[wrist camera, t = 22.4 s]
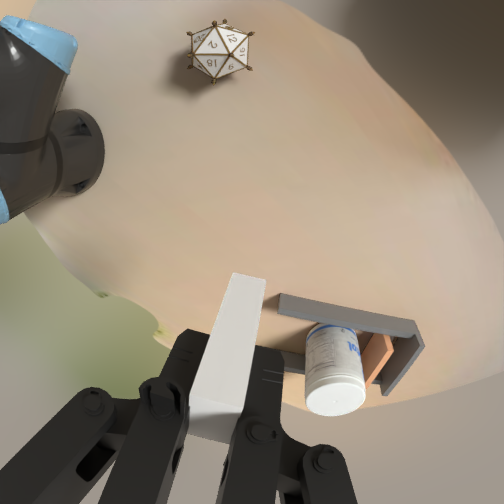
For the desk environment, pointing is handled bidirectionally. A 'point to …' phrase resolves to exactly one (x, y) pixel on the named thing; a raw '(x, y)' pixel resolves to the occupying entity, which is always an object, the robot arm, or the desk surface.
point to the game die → (219, 50)
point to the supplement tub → (333, 371)
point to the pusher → (376, 356)
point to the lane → (331, 314)
